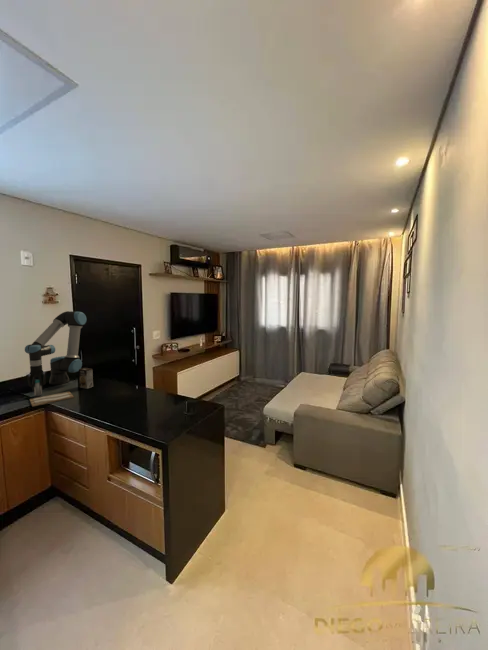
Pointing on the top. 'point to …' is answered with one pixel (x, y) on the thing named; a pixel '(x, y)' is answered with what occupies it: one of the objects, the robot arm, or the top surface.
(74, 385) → the top surface
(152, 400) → the top surface
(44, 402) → the writing board
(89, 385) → the coffee box
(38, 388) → the marker
